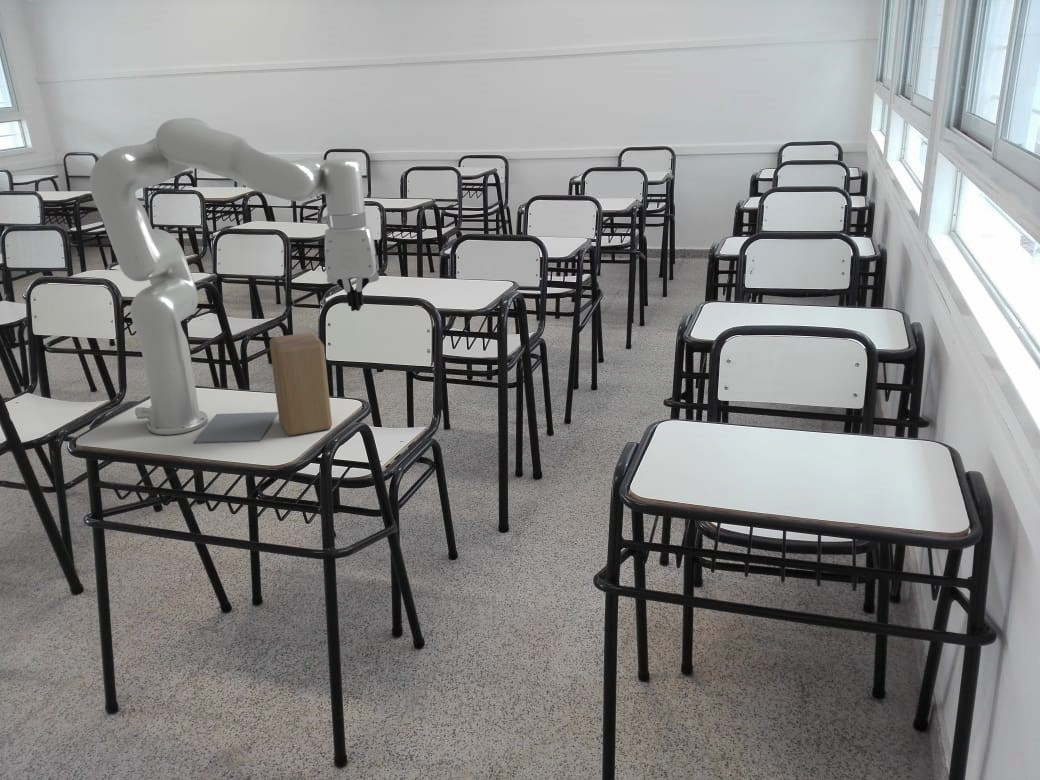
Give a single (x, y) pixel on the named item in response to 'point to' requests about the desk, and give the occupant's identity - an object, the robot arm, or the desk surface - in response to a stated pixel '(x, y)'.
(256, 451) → the desk surface
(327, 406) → the wooden block
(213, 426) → the mat
